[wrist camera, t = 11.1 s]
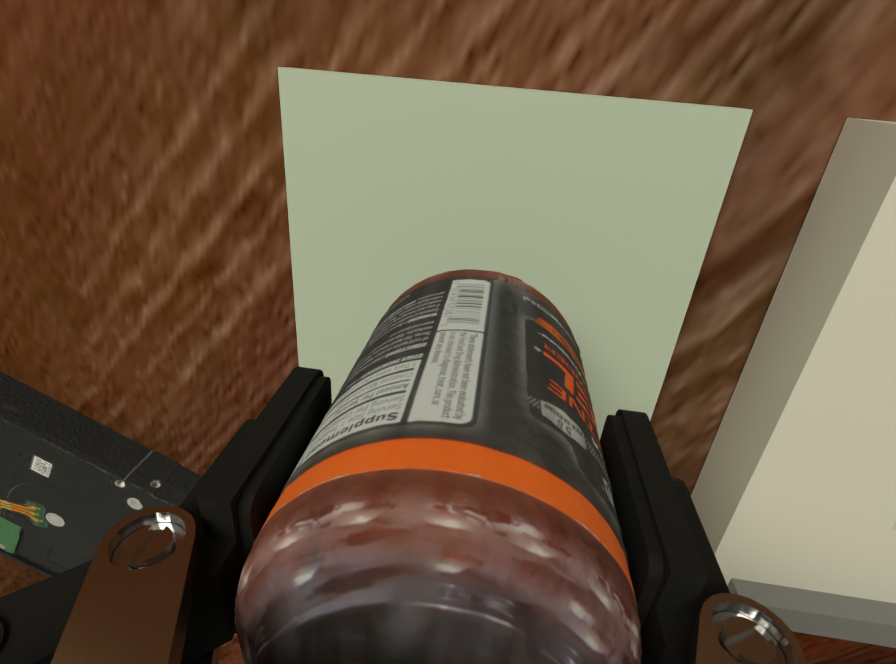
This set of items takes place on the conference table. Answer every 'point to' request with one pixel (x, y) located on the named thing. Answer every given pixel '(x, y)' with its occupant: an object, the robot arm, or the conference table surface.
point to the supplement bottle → (448, 500)
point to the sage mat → (502, 211)
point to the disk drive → (71, 480)
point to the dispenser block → (819, 416)
